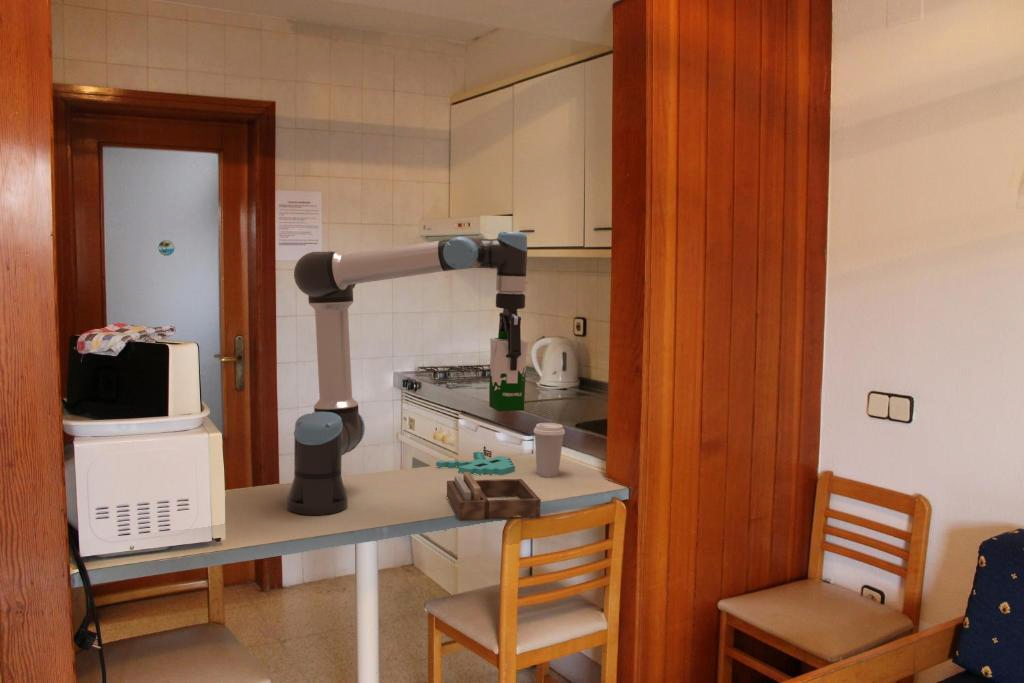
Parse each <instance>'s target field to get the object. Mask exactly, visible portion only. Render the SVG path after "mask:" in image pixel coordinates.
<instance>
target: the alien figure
mask: <svg viewBox="0 0 1024 683" xmlns="http://www.w3.org/2000/svg"><path fill="white" fill-rule="evenodd" d="M436 466H438V467H436ZM456 466H457V467H456ZM441 467H448V468H447V469H451V468H453V469H457V468H458V470H457V472H461V473H460V474H462V473H464V472H470V474H473V475H476V474H479V475H478V476H482V475H481V474H483V475H487V474H489V475H488V476H493V475H492V474H494V475H497V474H498V475H499V476H503V475H507V474H512V473H513V472H514V473H515V471H516V469H515V468H516V466H515V465H514V462H513V460H512V459H511V457H507V456H502V455H498V456H494V457H491V458H487V459H486V456H485V454H484V451H483V452H482V451H474V452H473V460H468V461H465V460H460V461H459V460H458V461H454V460H449V461H444V460H438V461H436V463H435V468H436V469H440V468H441ZM474 473H476V474H474ZM498 475H497V476H498Z"/></svg>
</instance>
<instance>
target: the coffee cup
mask: <svg viewBox="0 0 1024 683" xmlns="http://www.w3.org/2000/svg"><path fill="white" fill-rule="evenodd" d="M533 433H534V441H535V442H534V443H535V444H534V445H535V462H536V463H535V464H536V465H535V466H536V475H537V476H539V477H543V478H554V477H555V478H556V477H558V476H559V474H560V473H559V471H560V463H561V457H562V449H563V441H564V435H565V434H566V430H565V429H564V426H563V425H562V424H559V423H554V422H540V423H536V425H535V427H534V428H533Z"/></svg>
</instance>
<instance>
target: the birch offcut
mask: <svg viewBox="0 0 1024 683" xmlns="http://www.w3.org/2000/svg"><path fill="white" fill-rule="evenodd" d="M462 479H463V481H464V482H465V484H466V485H467V487H468V488H469V490H470V491H471V501H475V500H480V495H481V488H480V486H479V485H478V484H477V482H476V481H475V480H476V479H475V478H474V477H473V475H471V474H470V472H464V474H463V477H462Z"/></svg>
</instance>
